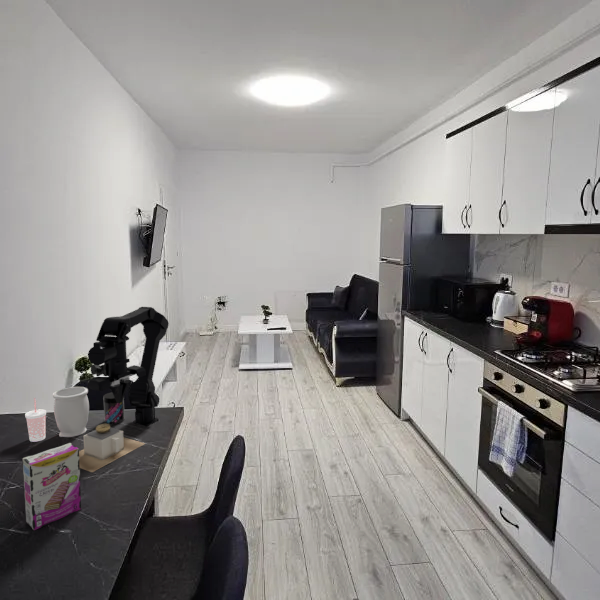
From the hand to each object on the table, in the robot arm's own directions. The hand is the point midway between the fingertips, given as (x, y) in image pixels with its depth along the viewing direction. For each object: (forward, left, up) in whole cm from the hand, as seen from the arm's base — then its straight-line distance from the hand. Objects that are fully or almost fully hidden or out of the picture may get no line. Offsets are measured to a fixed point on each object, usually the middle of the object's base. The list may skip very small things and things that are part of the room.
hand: (119, 402), depth 147 cm
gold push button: (+9, +3, -11) cm, 14 cm away
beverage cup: (+12, -25, -13) cm, 31 cm away
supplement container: (-9, -13, -13) cm, 21 cm away
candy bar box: (+36, +18, -13) cm, 42 cm away
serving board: (+9, +3, -13) cm, 16 cm away
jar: (+4, -18, -13) cm, 23 cm away
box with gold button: (+9, +3, -12) cm, 15 cm away
